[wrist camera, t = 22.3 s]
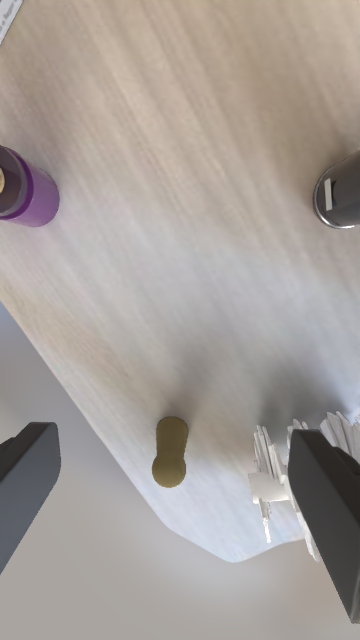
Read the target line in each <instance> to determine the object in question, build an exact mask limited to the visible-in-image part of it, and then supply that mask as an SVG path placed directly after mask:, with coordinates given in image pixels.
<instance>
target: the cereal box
mask: <svg viewBox="0 0 360 640" xmlns="http://www.w3.org/2000/svg"><path fill="white" fill-rule="evenodd" d="M22 2H23V0H0V44H1V42H2V40H3V39H4V37H5V35H6V33H7V31H8V29H9V27H10V25H11V23H12V21H13V19H14V17H15V15H16V13H17V11H18V9H19V8H20V6H21V4H22Z"/></svg>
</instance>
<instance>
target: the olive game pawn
mask: <svg viewBox="0 0 360 640" xmlns="http://www.w3.org/2000/svg"><path fill="white" fill-rule="evenodd" d="M187 437H188V427H187V424H186V423H185V422H184V421H183V420H182V419H180V418H178V417H166V418H164V419H162V420H161V421H160V422H159V423H158V425H157V428H156V440H157V456H156V458H155V459H154V462H153V465H152V474H153V477H154V479H155V481H156V482H157V483H158V484H159V485H161V486H162V487H166V488H172V487H176V486H177V485H179V484H180V483H181V482H182V481H183V479H184V477H185V474H186V464H185V461H184V452H185V447H186V442H187Z"/></svg>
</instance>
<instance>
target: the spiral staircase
mask: <svg viewBox="0 0 360 640" xmlns="http://www.w3.org/2000/svg"><path fill="white" fill-rule="evenodd" d="M327 417H328V419H325V420H324V421H323V422H322V424H321V425H320V426H321V428H322V432H321V433H322V434H323V435H324V437H325V438H326V439H327V440H328V442H329V443H330V444H331V445H332V446H333V447H339V448H341V449H342V450H343V451H345V452H346V453H348V454H349V455H350V456H352V457H353V458H354V459H355V460H356V461H357V462H358V463H359V464H360V415H358V416H356V417H355V419H356V421H357V423H354V424H353V426H352V425H351V424H350V423H349V422H348V421H347V420H346V418H345V417H344V416H343V415H342V414H341V413H340V412H339V411H336V416H335V415H333V414H332V413H330V412H327ZM293 421H294V425H293V426H289V427H287V428H288V431H289V434H287V446H288V449H289V452H290V443H291V434H292V431H293V430H294V429H309V428H308V427H307V425H306V423H305V422H302V426H301V425H300V424H299V422H298V421H297V420H296V419H293ZM256 426H257V431H258V432H254V437H255V441H253V442H254V447H255V453H256V457H257V460H255V466H256V470H257V473H252V474H247V475H248V479H249V484H250V488H251V493H252V497H253V502H254V504H256V503H259V507H260V512H261V516H262V520H263V525H264V529H265V533H266V537H267V542H268V543H270V542H271V540H270V535H269V530H268V524H267V520H270V518H269V513H271V509H270V505H269V502H272V501H280V500H287V499H290V501H291V503H292V505H293V507H294V509H295V511H296V514H297V516H298V519H299V522H300V525H301V527H302V530H303V533H304V536H305V540H306V543H307V546H308V549H309V553H310V554H312V555H313V557H314V559H315V561H316V562H320V561H319V557H318V552H317V549H316V545H315V541H314V539H313V537H312V535H311V533H310V530H309V528H308V526H307V524H306V521H305V519H304V517H303V515H302V513H301V510H300V508H299V506H298V504H297V502H296V499H295V497H294V495H293V493H292V490H291V488H290V484H289V479H288V468H287V466H286V465H283V463H282V461H281V458H280V455H279V452H278V449H277V445H276V443H272V444H271V441H270V439H269V436H268V433H267V431H266V428H265V427H262V430H263V432H262V430H261V428H260V426H259V425H256ZM294 426H295V427H294ZM289 452H287V457H288V461H289ZM257 461H258V462H257ZM258 464H259V465H258Z"/></svg>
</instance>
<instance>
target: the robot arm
mask: <svg viewBox="0 0 360 640" xmlns="http://www.w3.org/2000/svg"><path fill="white" fill-rule="evenodd" d="M313 205H314V209H315V212H316V214H317V216H318V217H319V219H320V220H321V221H322V222H323V223H324V224H326V225H328V226H330V227H332V228H337V229H344V228H349V227H353V226H356V225H359V224H360V150H358V151H357V152H355V153H354V154H352V155H350V156H349V157H347V158H346V159H344V160H343V161H341V162H339V163H337V164H336V165H334V166H332V167H331V168H329V169H328V170H327V171H326V172H325V173H324V174H323V175H322V176H321V177H320V179H319V180H318V182H317V184H316V187H315V190H314V194H313ZM60 468H61V457H60V447H59V438H58V428H57V425H56V424H55V423H54V422H31V423H29V424H28V425H27V426H26V427H25V428H24V429H23V430H22V431H21V432H20V433H19V434H18V435H17V436H16V437H14V438H13V437H12V438H10V439H8V440H7V441H5V442H4V443H2V444H0V574H1V573H2V571H3V569H4V568H5V566H6V564H7V563H8V561H9V559H10V557H11V556H12V554H13V553H14V551H15V549H16V548H17V546H18V544H19V543H20V541H21V540H22V538H23V536H24V535H25V533H26V531H27V529H28V528H29V526H30V524H31V523H32V521H33V520H34V518H35V516H36V515H37V513H38V511H39V510H40V508H41V506H42V505H43V503H44V501H45V500H46V498H47V496H48V495H49V493H50V491H51V490H52V488H53V486H54V485H55V483H56V481H57V479H58V476H59V473H60ZM288 479H289V484H290V488H291V490H292V493H293V495H294V497H295V499H296V502H297V504H298V506H299V508H300V510H301V513H302V515H303V517H304V519H305V521H306V524H307V526H308V528H309V530H310V533H311V535H312V537H313V539H314V541H315V544H316V546H317V548H318V550H319V552H320V554H321V557H322V559H323V561H324V563H325V566H326V568H327V570H328V572H329V574H330V577H331V579H332V581H333V583H334V585H335V588H336V590H337V592H338V594H339V596H340V599H341V600H342V603H343V605H344V607H345V610H346V612H347V614H348V616H349V618H350V621H351V623H356V624H360V464H359V463H358V462H357V461H356V460H355V459H354V458H353V457H352V456H350V455H349V454H348V453H346V452H345V451H343V450H342V449H341V448H339V447H333V446H332V445H331V444H330V443H329V442H328V440H327V439H326V438H325V437H324V435H323V434H322V433H321V432H320V431H319V430H317V429H294V430H293V431H292V434H291V443H290V452H289V461H288Z"/></svg>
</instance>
